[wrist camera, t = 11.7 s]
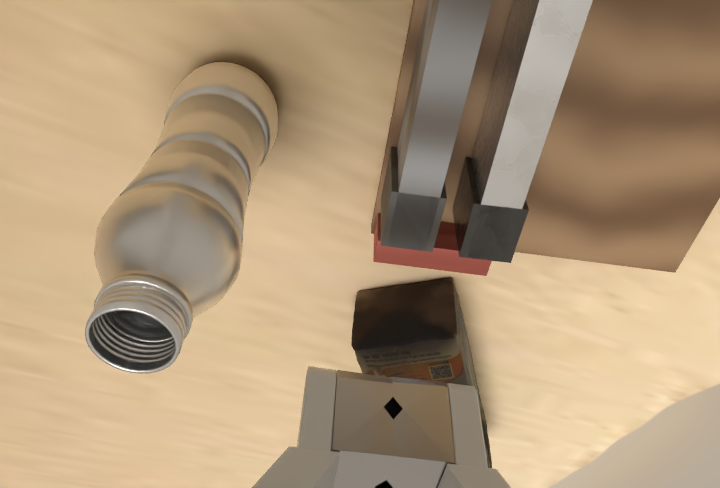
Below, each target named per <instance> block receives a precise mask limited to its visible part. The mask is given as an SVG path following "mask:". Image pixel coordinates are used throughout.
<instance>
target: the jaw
mask: <svg viewBox="0 0 720 488" xmlns="http://www.w3.org/2000/svg"><path fill="white" fill-rule="evenodd" d="M592 1H593V0H513V3H512V7H511V11H510V14H509V18H508V22H507V26H506V30H505V33H504V37H503V41H502V45H501V49H500V53H499V56H498V60H497V64H496V68H495V72H494V75H493V79H492V83H491V87H490V91H489V94H488V98H487V102H486V106H485V110H484V114H483V117H482V121H481V125H480V129H479V133H478V136H477V140H476V144H475V148H474V152H473V156H472V159H471V158H465V162H464V166H463V169H462V173H461V177H460V181H459V185H458V189H457V193H456V197H455V201H454V205H453V209H452V210H453V217H454V224H455V231H456V239H457V246H458V253H459V257H464V258H473V259H482V260H491V261H500V262H509V263H511V260H512V257H513V255H514V252H515V249H516V246H517V243H518V240H519V237H520V234H521V231H522V229H523V226H524V223H525V220H526V217H527V214H528V211H529V208H528V205H527V202H526V196H527V193H528V190H529V187H530V184H531V181H532V179H533V176H534V173H535V170H536V167H537V164H538V161H539V158H540V155H541V152H542V149H543V146H544V143H545V140H546V137H547V134H548V131H549V128H550V125H551V122H552V119H553V116H554V114H555V111H556V108H557V105H558V102H559V99H560V96H561V93H562V90H563V87H564V84H565V81H566V78H567V75H568V72H569V69H570V66H571V63H572V60H573V57H574V54H575V51H576V49H577V46H578V43H579V40H580V37H581V34H582V31H583V28H584V25H585V22H586V19H587V16H588V13H589V10H590V7H591V4H592Z"/></svg>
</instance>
